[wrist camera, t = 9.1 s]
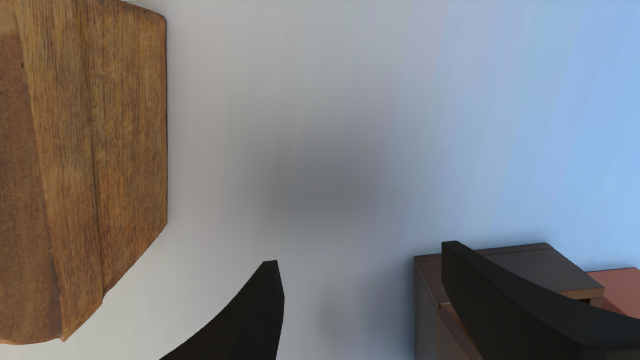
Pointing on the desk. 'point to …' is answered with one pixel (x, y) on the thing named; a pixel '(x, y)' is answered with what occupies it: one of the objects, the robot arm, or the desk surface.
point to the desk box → (523, 261)
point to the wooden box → (76, 157)
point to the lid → (452, 340)
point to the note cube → (620, 290)
